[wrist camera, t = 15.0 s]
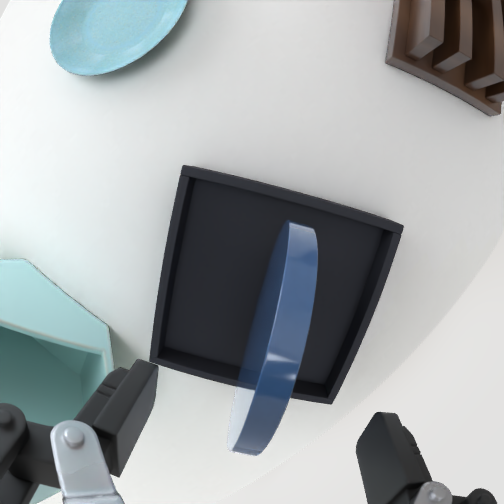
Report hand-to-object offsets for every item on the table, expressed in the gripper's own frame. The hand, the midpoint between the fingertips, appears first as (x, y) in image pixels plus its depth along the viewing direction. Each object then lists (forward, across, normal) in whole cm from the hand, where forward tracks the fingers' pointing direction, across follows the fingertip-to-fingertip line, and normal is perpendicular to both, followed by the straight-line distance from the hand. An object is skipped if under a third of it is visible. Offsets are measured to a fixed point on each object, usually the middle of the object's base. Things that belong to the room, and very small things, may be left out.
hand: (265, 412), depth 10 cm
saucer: (+13, +16, -18) cm, 27 cm away
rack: (+13, -9, -25) cm, 29 cm away
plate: (+6, 0, 0) cm, 6 cm away
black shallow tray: (+13, 0, 0) cm, 13 cm away
